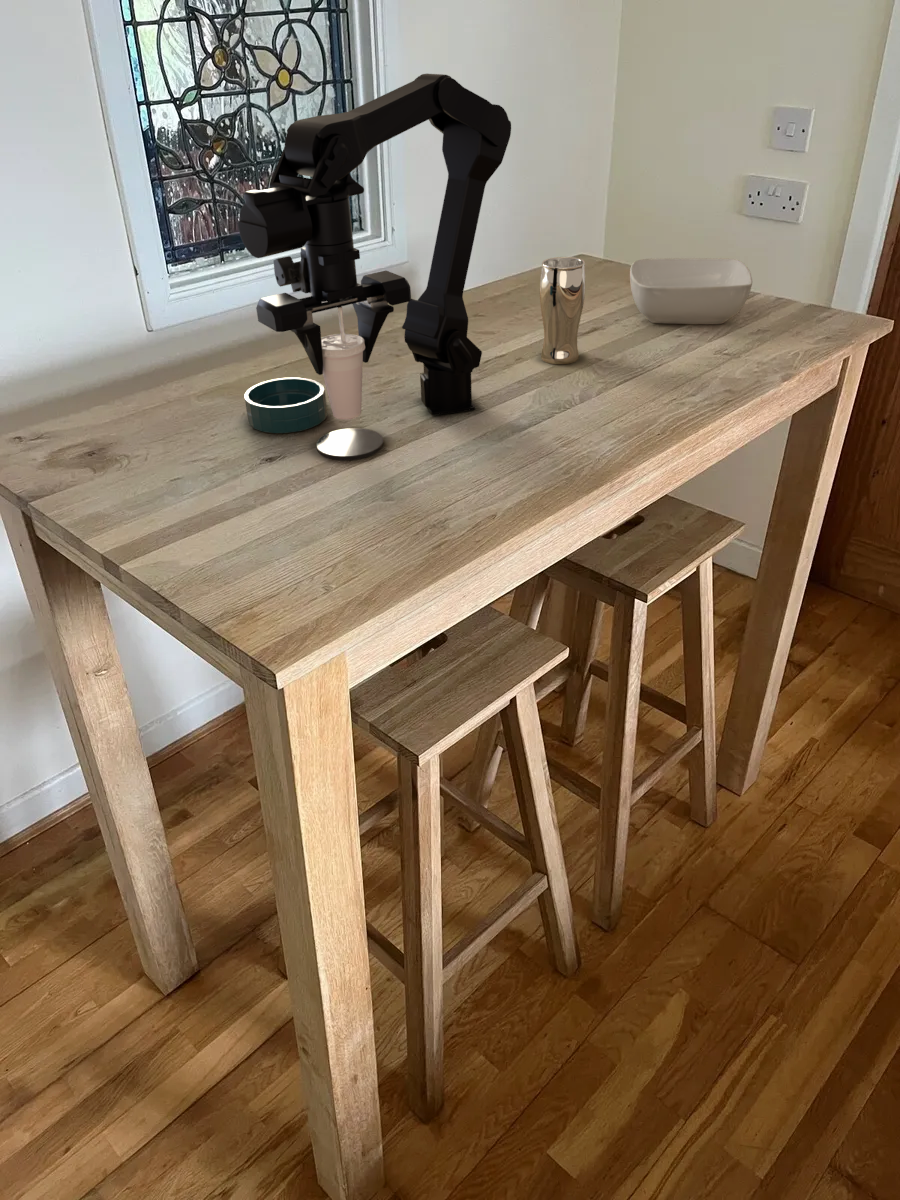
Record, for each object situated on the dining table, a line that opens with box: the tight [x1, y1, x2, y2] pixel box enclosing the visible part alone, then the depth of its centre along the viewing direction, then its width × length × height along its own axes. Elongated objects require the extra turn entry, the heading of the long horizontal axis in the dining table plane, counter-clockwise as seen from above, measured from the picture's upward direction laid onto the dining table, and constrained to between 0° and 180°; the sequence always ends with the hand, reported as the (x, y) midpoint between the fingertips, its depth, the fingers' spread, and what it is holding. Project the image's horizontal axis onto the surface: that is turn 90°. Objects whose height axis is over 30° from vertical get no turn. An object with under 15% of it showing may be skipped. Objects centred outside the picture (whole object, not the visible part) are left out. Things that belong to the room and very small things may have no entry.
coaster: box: [315, 427, 385, 461], centre depth 122 cm, size 9×9×1 cm
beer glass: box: [539, 256, 586, 365], centre depth 143 cm, size 7×7×15 cm
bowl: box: [629, 257, 753, 325], centre depth 162 cm, size 20×20×8 cm
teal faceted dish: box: [243, 377, 328, 434], centre depth 130 cm, size 11×11×4 cm
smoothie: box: [321, 306, 365, 420], centre depth 116 cm, size 6×6×14 cm
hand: (342, 367), depth 117 cm, fingers closed on smoothie, 6 cm apart
